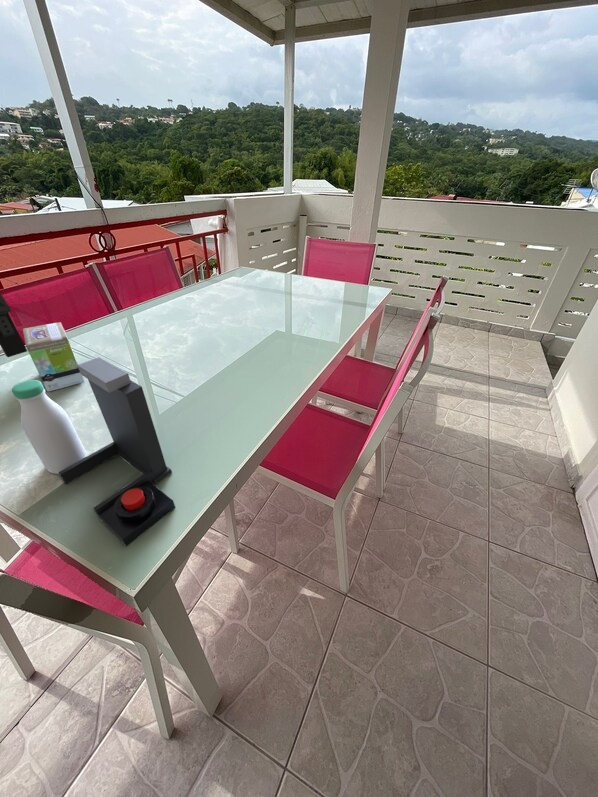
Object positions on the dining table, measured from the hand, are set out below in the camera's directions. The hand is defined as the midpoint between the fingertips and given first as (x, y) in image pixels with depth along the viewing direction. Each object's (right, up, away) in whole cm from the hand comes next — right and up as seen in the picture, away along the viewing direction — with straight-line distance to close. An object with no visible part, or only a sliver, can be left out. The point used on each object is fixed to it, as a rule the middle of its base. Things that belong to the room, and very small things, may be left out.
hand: (1, 342), depth 56 cm
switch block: (+21, -31, +6) cm, 38 cm away
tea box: (-22, -3, +46) cm, 51 cm away
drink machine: (+13, -26, +13) cm, 32 cm away
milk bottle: (0, -24, +17) cm, 29 cm away
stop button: (+21, -28, +4) cm, 35 cm away
